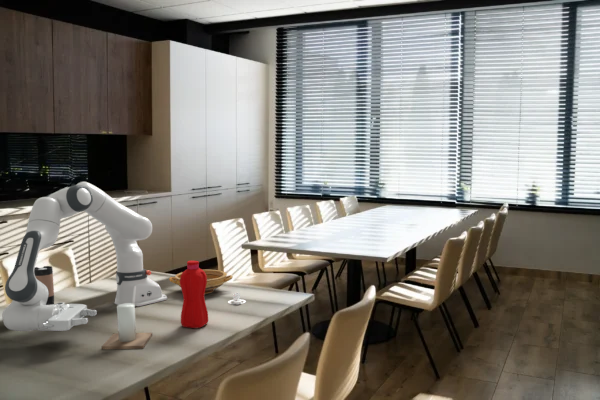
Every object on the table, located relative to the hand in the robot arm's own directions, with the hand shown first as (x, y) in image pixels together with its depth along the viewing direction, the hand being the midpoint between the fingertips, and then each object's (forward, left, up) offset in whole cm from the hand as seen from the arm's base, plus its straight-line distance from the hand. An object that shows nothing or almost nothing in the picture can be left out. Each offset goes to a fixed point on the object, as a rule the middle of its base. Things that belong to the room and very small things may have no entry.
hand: (91, 316), depth 207 cm
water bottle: (-38, +3, -9) cm, 39 cm away
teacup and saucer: (-64, -16, -10) cm, 67 cm away
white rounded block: (-10, +7, -8) cm, 15 cm away
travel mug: (+6, -45, -9) cm, 46 cm away
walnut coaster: (-10, +7, -9) cm, 15 cm away
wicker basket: (-63, -43, -10) cm, 77 cm away
